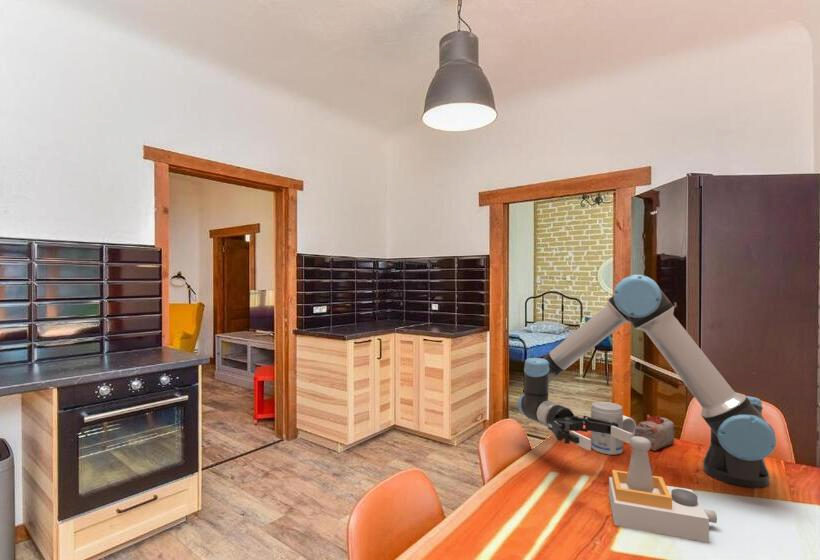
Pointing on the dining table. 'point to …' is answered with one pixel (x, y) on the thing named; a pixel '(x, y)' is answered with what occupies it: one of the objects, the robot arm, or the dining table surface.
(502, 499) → the dining table surface
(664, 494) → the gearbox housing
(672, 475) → the dining table surface
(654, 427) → the food item
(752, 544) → the dining table surface
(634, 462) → the salt shaker
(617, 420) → the supplement tub
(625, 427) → the mug
